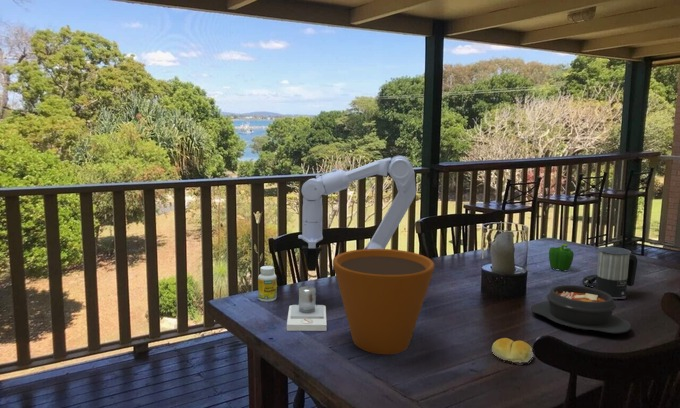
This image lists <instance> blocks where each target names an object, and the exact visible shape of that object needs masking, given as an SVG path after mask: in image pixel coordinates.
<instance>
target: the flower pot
mask: <svg viewBox="0 0 680 408" xmlns="http://www.w3.org/2000/svg"><path fill="white" fill-rule="evenodd" d="M332 264H333V269H334V274H335V278H336V281H337V284H338V288H339V292H340V295H341V300H342V301H341V302H342V304H343V308H344V311H345V316H346V319H347V323H348V327H349V331H350V334H351V339H352V342H353V344H354V345H355V346H356V347H357V348H359V349H361V350H363V351H366V352H368V353H372V354H378V355H393V354H394V355H395V354H399V353H403V352H404V351H406V350H407V349H408V348H409V345H410V343H411V340H412V338H413V334H414V331H415V328H416V324H417V322H418V319H419V316H420V313H421V310H422V306H423V303H424V301H425V297H426V295H427V292H428V288H429V285H430V282H431V280H432V277H433V274H434V271H435V263H434V261H433V260H432V259H431V258H429V257H427V256H425V255H423V254H419V253H416V252H411V251H405V250H400V249H391V248H390V249H388V248H385V249H364V248H363V249H362V248H361V249H354V250H348V251H345V252H342V253H339V254H337V255H336V256H334V258H333V260H332ZM406 348H407V349H406ZM405 349H406V350H405Z"/></svg>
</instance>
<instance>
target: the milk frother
mask: <svg viewBox="0 0 680 408" xmlns="http://www.w3.org/2000/svg"><path fill="white" fill-rule="evenodd" d="M597 250H598V258H597V259H598V260H597V270H596V271H597V272H596V274H591V275H587V276H585V277H584V278H582V282H581V283H582V284H583V285H584V284H585V285H588V286H593V287H595V288H594V289H597V290H601V291H603V292H606V293H608V294H609V295H611V296H612V297H622V296H627V289H628V288H627V286H628V287H633V286H634V284H635V279H636V275H637V268H638V267H637V266H638V258H637V256H636V255H635V254H634V253H632V251H631V250H629V249H626V248H622V247H616V246H600V247H598V248H597ZM594 282H595V283H594ZM585 285H584V286H585ZM588 286H587V287H588Z"/></svg>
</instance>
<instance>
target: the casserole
mask: <svg viewBox="0 0 680 408" xmlns="http://www.w3.org/2000/svg"><path fill="white" fill-rule="evenodd" d="M546 299H547V301H541V302H537V303H534V304H533V305H532V306H531V308H530V310H531V311H532V312H533V313H535V314H537V315H540V316H542V317H545V318H547V319H548V320H551V322H554V323H556V324H559V325H561V326H563V325H565V326H564V327H566V326H568V327H567V328H569V327H572V328H571V329H573V328H578V329H585V330H584V331H588V330H594V331H593V332H595V331H597V332H600V333H608V334H615V335H616V334H622V333H626V332H629V331H630V330H631V329H632V324H631V323H630V322H629V321H628V320H626V319H624V318H621V317H617V316H616V315H615V316H614V315H613V311H615V309H616V308H617V305H616V303H615V302H614V300H613V298H612V296H611V295H609V294H608V293H606V292H603V291H601V290H597V289H595V288H591V287H588V286H585V285H584V286H582V285H576V284H575V285H573V284H564V285H556V286H554V287H552V288H551V289H550V292H549V293H548V294H547V295H546ZM578 329H577V330H578Z"/></svg>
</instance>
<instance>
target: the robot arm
mask: <svg viewBox="0 0 680 408" xmlns="http://www.w3.org/2000/svg"><path fill="white" fill-rule="evenodd" d="M388 174H389V176H390V177H391V178H392V180H393V181H394V183H395V186H396V189H397V194H396V195H395V197H394V198H393V200H392V202H391V204H390V206H389V208H388V209H387V212H386V213H385V215H383V218H382V219H381V222H380V224H379V225H378V227H377V229H376V230H375V232H374V234H373V235H372V237H371V239H370V240H369V242H368V243H367V245H366V246H365V247H364V248H363V249H387V248H386V247H387V246H388V244H389V242H390V241H391V239H392V237H393V235H394V233H396V230H397V228H398V227H399V226H400V224H401V222H402V220H403V218H404V217H405V215H406V213H407V211H408V209H409V208H410V206H411V205H412V203H413V201H414V200H415V197H416V194H417V188H416V177H415V175H416V174H415V170H414V167H413V165H412V163H411V162H410V160H409V159H408V158H407V157H406V156H404V155H395V156H393V157H386V158H381V159H377V160H375V161H372V162H369V163H367V164H364V165H362V166H359V167H357V168H353V169H350V170H348V171H346V170H344V169H341V168H340V169H337V168H333V169H331V172H328V173H325V174H322V175H320V174H317V175H315V178H309V179H307V180H306V181H305V182H303V184H302V186H301V195H302V197H303V198H302V202H303V203H302V218H301V219H302V225H301V226H302V227H301V229H302V232H301V233H302V234H299V235H298V236H297V237H298V238H297V239H301V240H302V243H303V245H302V246H301V250H302V252H303V254H304V257H305V262H306V269H307V271H308V272H315V271H317V270H316V269H317V266H318V260H319V257H320V254H321V251H322V250H323V246H321V244H322V241H323V239H324V236H323V214H324V213H323V207H324V206H323V196H329V195H331V194H334V193H337V192H340V191H343V190H346V189H348V187H349V186H350V183H352V182H355V181H359V180H362V179H365V178H369V177H372V176H375V175H378V176H382V177H388ZM322 195H323V196H322Z"/></svg>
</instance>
